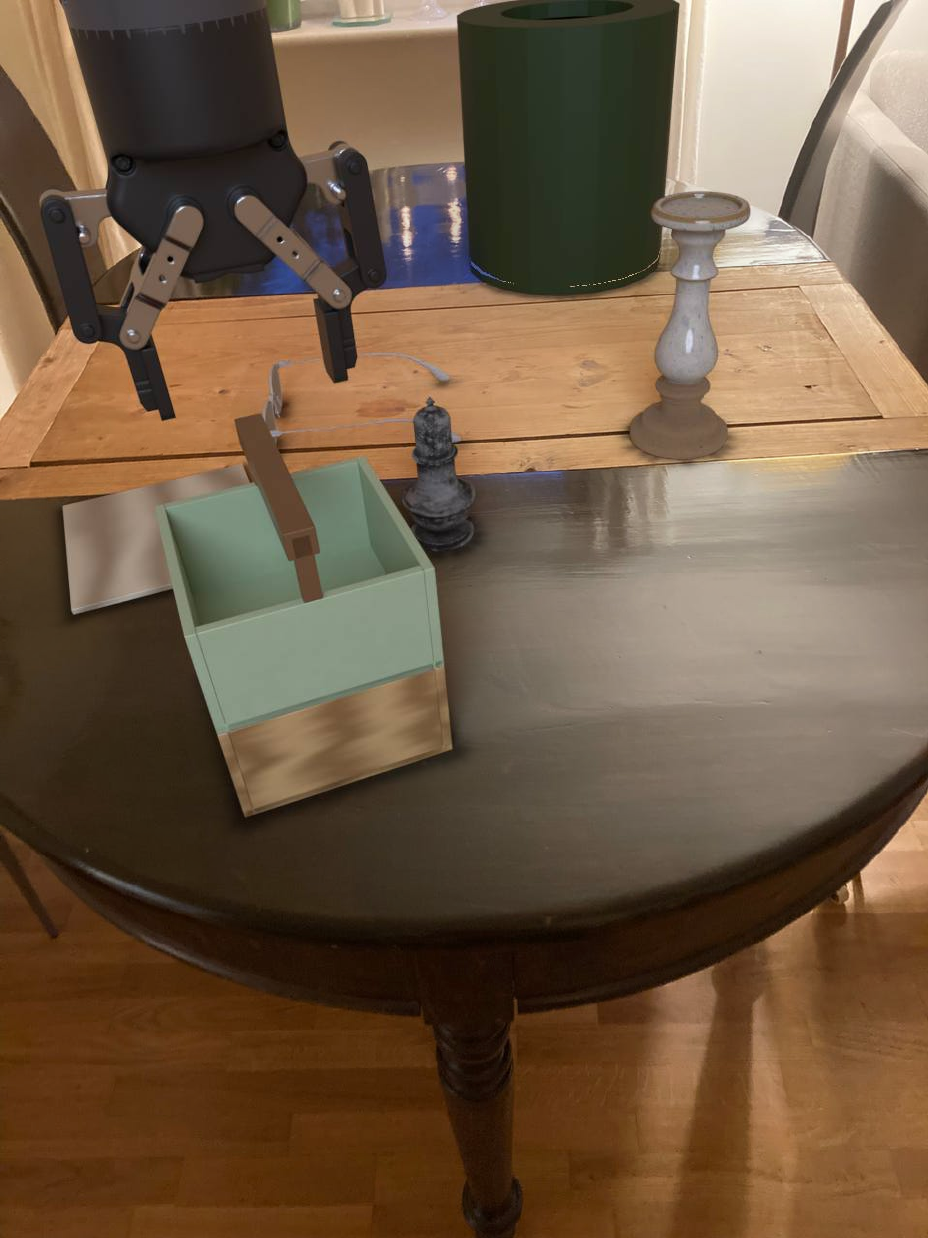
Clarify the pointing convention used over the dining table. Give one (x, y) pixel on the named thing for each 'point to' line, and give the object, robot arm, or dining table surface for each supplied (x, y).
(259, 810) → the brown wooden open box
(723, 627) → the dining table surface
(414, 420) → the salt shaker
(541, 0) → the flower pot
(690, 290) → the candle holder
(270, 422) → the eyeglasses
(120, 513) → the placemat
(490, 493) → the dining table surface
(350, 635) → the top basket
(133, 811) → the dining table surface
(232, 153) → the robot arm
